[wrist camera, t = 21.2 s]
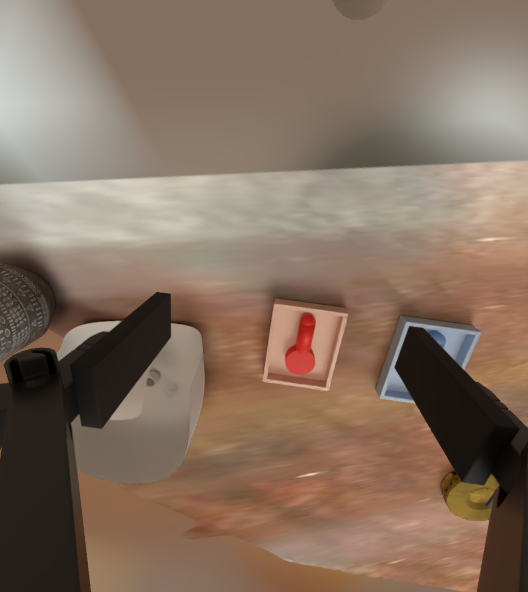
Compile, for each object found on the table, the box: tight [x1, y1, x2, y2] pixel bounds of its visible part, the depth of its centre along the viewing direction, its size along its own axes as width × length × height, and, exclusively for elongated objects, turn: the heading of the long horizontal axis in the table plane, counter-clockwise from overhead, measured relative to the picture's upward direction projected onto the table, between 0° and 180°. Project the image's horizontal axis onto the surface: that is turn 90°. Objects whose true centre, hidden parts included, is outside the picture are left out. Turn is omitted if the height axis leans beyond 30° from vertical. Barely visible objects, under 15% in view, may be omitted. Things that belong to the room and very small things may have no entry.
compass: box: [441, 472, 499, 521], centre depth 49 cm, size 12×12×2 cm
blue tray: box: [376, 316, 482, 403], centre depth 40 cm, size 13×10×2 cm
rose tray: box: [263, 298, 348, 391], centre depth 41 cm, size 13×10×2 cm
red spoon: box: [285, 314, 316, 375], centre depth 40 cm, size 10×4×2 cm, turn 173°
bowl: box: [57, 321, 205, 484], centre depth 40 cm, size 20×19×12 cm
